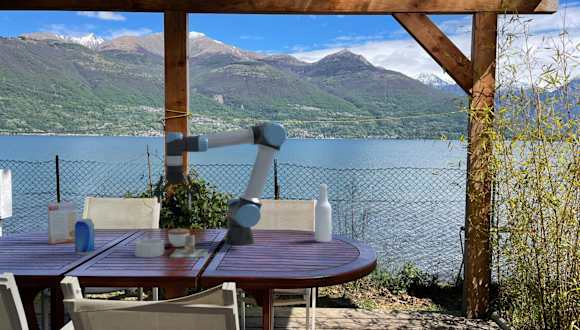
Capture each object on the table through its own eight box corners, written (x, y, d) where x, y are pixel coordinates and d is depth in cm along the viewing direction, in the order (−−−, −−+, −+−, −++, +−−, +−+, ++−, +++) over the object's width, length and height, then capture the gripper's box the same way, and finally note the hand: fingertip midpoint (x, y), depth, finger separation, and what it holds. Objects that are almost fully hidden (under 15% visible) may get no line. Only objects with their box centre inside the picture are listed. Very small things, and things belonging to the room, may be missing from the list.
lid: (209, 251, 262) (209, 232, 261) (204, 259, 246) (204, 239, 245) (176, 251, 261) (176, 232, 261) (169, 259, 245) (169, 239, 245)
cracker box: (76, 240, 288) (75, 201, 287) (78, 242, 283) (78, 202, 282) (48, 243, 280) (47, 203, 279) (50, 245, 275) (49, 204, 274)
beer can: (98, 252, 257) (97, 219, 257) (86, 256, 249) (85, 221, 249) (83, 251, 260) (83, 218, 259) (71, 254, 252) (70, 220, 251)
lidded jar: (184, 248, 267) (184, 229, 267) (164, 247, 269) (164, 228, 269) (193, 244, 277) (192, 225, 277) (173, 243, 280) (173, 225, 279)
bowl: (166, 251, 260) (166, 238, 259) (160, 257, 247) (160, 244, 246) (139, 251, 260) (139, 238, 259) (131, 257, 247) (131, 244, 246)
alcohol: (312, 239, 288) (312, 184, 286) (327, 239, 291) (327, 183, 289) (318, 243, 280) (318, 185, 278) (333, 242, 282) (334, 185, 281)
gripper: (200, 164, 262) (201, 207, 263) (147, 165, 256) (148, 209, 257) (201, 164, 255) (202, 209, 256) (147, 165, 248) (148, 211, 250)
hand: (175, 209), depth 256 cm, fingers open, 13 cm apart
